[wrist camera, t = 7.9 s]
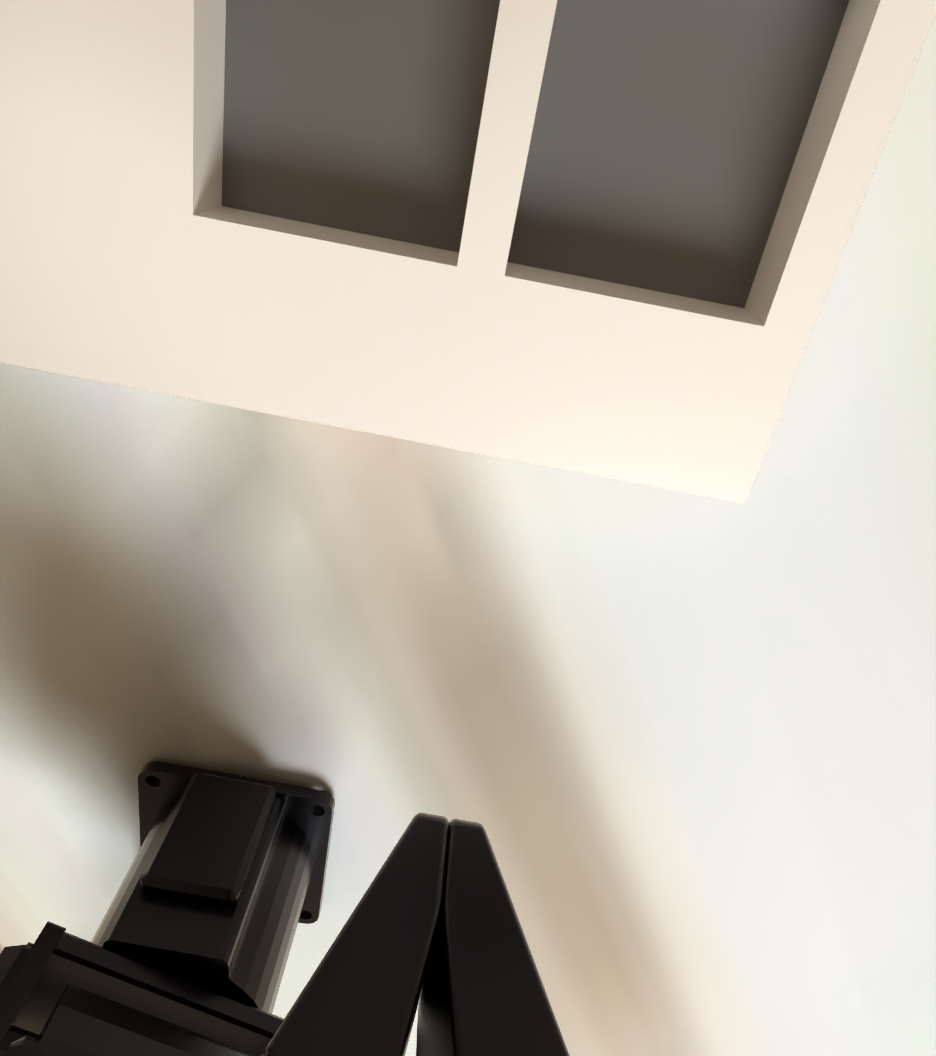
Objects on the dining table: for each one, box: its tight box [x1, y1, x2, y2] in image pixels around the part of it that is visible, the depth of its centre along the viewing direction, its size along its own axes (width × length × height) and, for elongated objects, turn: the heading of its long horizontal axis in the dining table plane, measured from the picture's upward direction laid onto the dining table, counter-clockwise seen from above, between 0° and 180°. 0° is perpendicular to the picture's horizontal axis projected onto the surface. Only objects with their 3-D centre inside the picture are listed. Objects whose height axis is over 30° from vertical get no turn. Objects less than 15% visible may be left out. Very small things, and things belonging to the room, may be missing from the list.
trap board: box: [0, 0, 936, 504], centre depth 14 cm, size 14×24×4 cm, turn 80°
